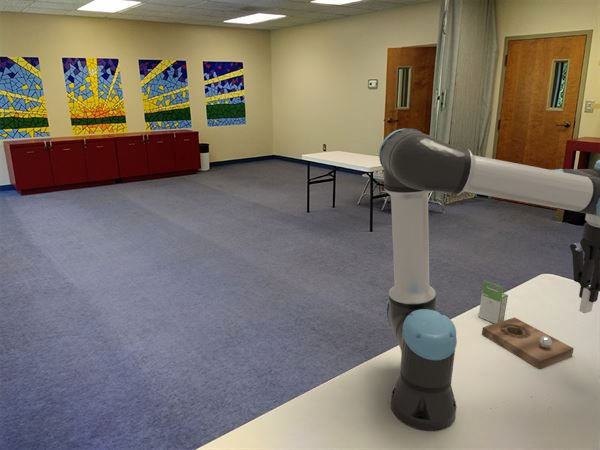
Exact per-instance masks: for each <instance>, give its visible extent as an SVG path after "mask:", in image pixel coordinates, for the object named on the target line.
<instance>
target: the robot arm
mask: <svg viewBox="0 0 600 450" xmlns="http://www.w3.org/2000/svg"><path fill="white" fill-rule="evenodd" d="M378 155H379V157H378V159H379V162H380V165H381V167H382V170H383V188H384V191H385V192H386V193H387V194H388V195H390V204H391V205H390V207H391V228H392V253H393V259H392V260H393V277H394V278H393V280H394V281H393V282H394V285H393V286H392V287H390V289H389V290H388V299H387V301H386V308H385V313H386V318H387V322H388V323H389V326H390V327H391V329H392V331H393V334H394V336H395V339H396V341H397V344H398V345H399V348H400V352H401V358H400V359H401V360H400V370H399V371H400V373H399V377H398V380H396V384H395V386H394V388H393V389H392V391H391V396H390V408H391V411H392V413H393V415H394V416H395V417H396V418H397V419H398V420H399V421H401V423H404V424H405V425H408V426H410V427H412V428H414V429H418V430H424V431H439V430H442V429H446V428H447V427H449V426H451V424H453V422H454V421H455V419H456V414H457V402H456V399H455V394H454V392H453V387H452V377H453V370H454V361H455V354H456V353H455V352H456V347H457V343H458V342H457V327H456V326H455V324H454V322H453V321H452V320H451V319H450V318H449V317H448V316H447V315H445V314H441V312H439V311H437V293H436V290H435V289H434V288H433V287H432V286H431V285H430V246H429V245H430V244H429V242H430V237H429V236H430V232H429V230H430V229H429V226H430V225H429V194H430V193H431V192H434V193H442V194H448V195H449V194H450V195H452V196H453V195H454V196H459V195H461V194H462V193H464V192H466V193H471V194H477V195H483V196H488V197H493V198H498V199H499V198H500V199H505V200H510V201H516V202H521V203H522V202H523V203H528V204H534V205H539V206H544V207H549V208H556V209H562V210H567V211H573V212H578V213H582V214H585V218H584V220H585V221H586V222H584V224H583V230H582V238H581V239H580V240H579V242H576V243H571V244H569V249H570V252H571V254H572V271H573V281H574V282H575V283H578V284H579V286H580V288H579V294H578V297H579V298H580V304H579V310H578V311H579V312H580V313H583V314H588V313H591V312H592V310H593V305H594V303H596V302H597V301H598V298H599V293H600V159H598V160H597V161H596V163H595V164H594V168H590V169H589V168H586V169H585V168H584V169H582V168H581V169H578V168H576V169H575V168H574V169H572V168H570V169H567V168H565V169H562V168H559V169H558V168H557V169H547V168H542V167H538V166H531V165H528V164H521V163H516V162H511V161H505V160H501V159H494V158H490V157H484V156H480V155H474V154H473V153H472V151H471V150H470V149H469V148H465V147H459V146H456V145H452V144H450V143H447V142H445V141H442V140H439V139H437V138H436V137H433V136H432V135H430V134H426V133H424V132H422V131H421V130H418V129H415V128H401V129H396V130H394V131H392V132H391V133H390V134H388V135H387V136H386V137H385V138H384V139H383V141H382V143H381V144H380V146H379V152H378Z"/></svg>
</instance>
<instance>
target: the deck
mask: <svg viewBox="0 0 600 450" xmlns="http://www.w3.org/2000/svg"><path fill="white" fill-rule="evenodd" d="M481 335H482V336H484V337H485V338H488V339H489V340H491V342H494V343H495V344H497V345H498V346H500V347H502V348H503V349H505V350H507V351H508V352H510V353H511V354H513V355H515V356H516V357H519V358H520V359H521V360H523V361H525V362H526V363H528V364H530V365H532V366H533V367H535V368H536V369H538V370H540V369H542V368H544V367H547V366H550V365H552V364H556V363H557V362H560V361H562V360H566V359H568V358H570V357H573V355H574V347H573V346H570V345H568V344H566V343H564V342H562V341H560V340H559V339H557V338H555V337H553V336H551V335H549V334H548V333H545V332H543V331H541V330H540V329H538V328H536V327H534V326H532V325H531V324H528V323H526V322H524V321H523V320H520V319H518V318H517V317H512V318H508V319H504V321H501V322H498V323H495V324H494V323H492V324H489V325H485V326H482V330H481ZM542 336H547V337H549V338H550V339H551V340H552V345H551V347H549V348H543V347H541V346H540V344H539V339H540V337H542Z"/></svg>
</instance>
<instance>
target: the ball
mask: <svg viewBox="0 0 600 450" xmlns="http://www.w3.org/2000/svg"><path fill="white" fill-rule="evenodd" d="M539 344H540V346H541V347H543V348H549V347H551V345H552V340H551V339H550V338H549V337H547V336H542V337H540V339H539Z"/></svg>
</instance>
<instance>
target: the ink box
mask: <svg viewBox="0 0 600 450" xmlns="http://www.w3.org/2000/svg"><path fill="white" fill-rule="evenodd" d="M491 287H493V288H495V289H493V288H491ZM503 291H504V287H503V286H500V285H498V284H495V283H491V282H490V281H486V280H483V284H482V290H481V297H480V303H479V304H480V305H479V311H478V312H479V313H478V318H479V319H480V318H481V319H483V320H486V321H487V322H489V323H492V324H495V323H498V322H501V321H505V316H506V311H507V303H508V298H509V294H507V293H504V292H503Z"/></svg>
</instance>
